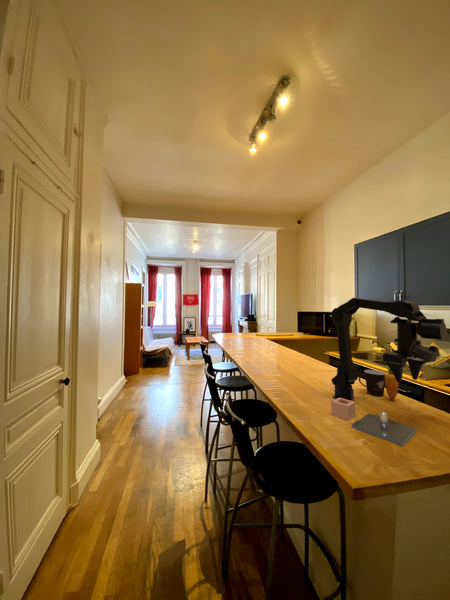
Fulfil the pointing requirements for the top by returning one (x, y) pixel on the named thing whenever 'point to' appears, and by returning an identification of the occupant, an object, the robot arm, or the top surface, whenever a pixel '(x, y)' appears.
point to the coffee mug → (374, 382)
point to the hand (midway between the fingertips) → (407, 381)
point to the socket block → (343, 408)
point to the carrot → (391, 384)
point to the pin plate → (385, 428)
